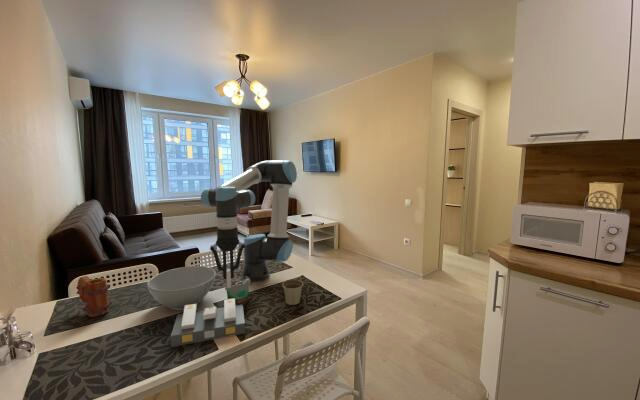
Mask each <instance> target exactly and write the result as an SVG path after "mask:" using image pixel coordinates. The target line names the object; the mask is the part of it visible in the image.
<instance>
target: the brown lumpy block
mask: <svg viewBox="0 0 640 400" xmlns="http://www.w3.org/2000/svg"><path fill="white" fill-rule="evenodd" d="M76 288H77V289H76V290H77V293H78V296H79V298H80V300H81V301H82V303H83V304H85V306H84V307H83V308H82V310H83V311H84V312H86V314H87V316H88V317H91V318H96V317H100V316H102V315H104V314H106V313H108V312H109V308H110V307H111V305H112V303H113V302H112V301H110V300H109V295H108V290H109V289H110V288H111V286H110V285H109V284H107V279H106V278H104V277H99V278H92V279H90V277H89V276H88V275H83V276H80V277H79V278H78V280H77V287H76Z"/></svg>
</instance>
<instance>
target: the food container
mask: <svg viewBox="0 0 640 400" xmlns="http://www.w3.org/2000/svg"><path fill="white" fill-rule="evenodd" d="M251 284H252V283H251V281H250V279H249V278H248V277H247V276H246V278H245V279H241V280H237V281H234V283H231V288H227V284H225V288H224V290H225V291H226V297H227V298H226V299H233V298H235V306H236V305H242V304H243V306H245V305H246V304H248V301H249V294H250V293H249V290H250V285H251Z"/></svg>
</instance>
